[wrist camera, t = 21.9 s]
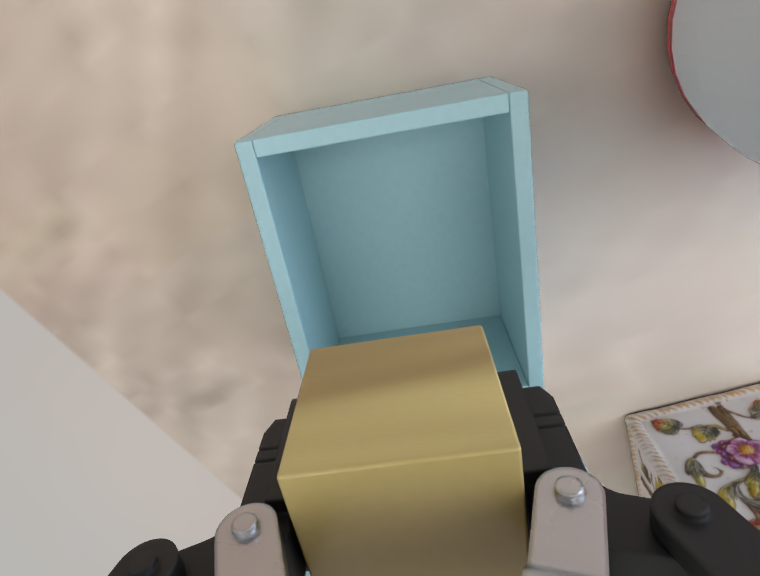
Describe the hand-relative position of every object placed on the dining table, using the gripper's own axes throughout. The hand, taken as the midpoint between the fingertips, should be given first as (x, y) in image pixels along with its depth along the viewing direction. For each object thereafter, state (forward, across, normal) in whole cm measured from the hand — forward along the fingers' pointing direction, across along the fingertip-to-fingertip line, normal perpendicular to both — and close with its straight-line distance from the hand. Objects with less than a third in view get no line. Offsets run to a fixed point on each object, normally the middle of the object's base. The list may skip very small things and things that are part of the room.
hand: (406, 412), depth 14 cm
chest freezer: (+20, 0, +2) cm, 20 cm away
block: (0, 0, 0) cm, 0 cm away
